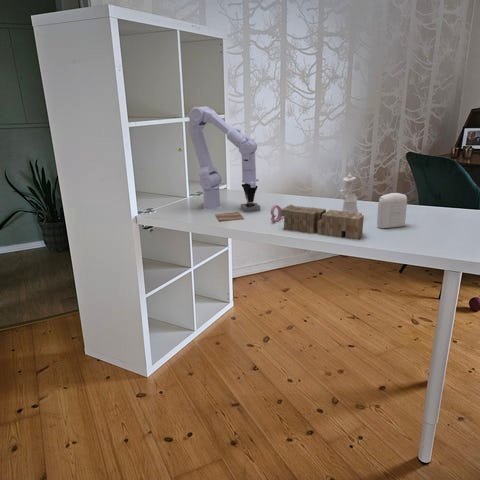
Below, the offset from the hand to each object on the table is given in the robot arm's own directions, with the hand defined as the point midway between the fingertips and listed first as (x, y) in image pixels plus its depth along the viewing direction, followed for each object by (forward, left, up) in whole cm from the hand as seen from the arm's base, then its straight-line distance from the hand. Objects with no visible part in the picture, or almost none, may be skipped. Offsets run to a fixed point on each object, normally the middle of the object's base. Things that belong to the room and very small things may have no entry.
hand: (249, 201), depth 187 cm
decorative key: (+16, +12, -5) cm, 20 cm away
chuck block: (0, 0, -4) cm, 4 cm away
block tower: (+38, +18, -5) cm, 42 cm away
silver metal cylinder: (0, 0, -3) cm, 3 cm away
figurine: (+26, +34, -4) cm, 43 cm away
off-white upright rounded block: (+41, +43, -5) cm, 60 cm away
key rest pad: (+9, -11, -4) cm, 15 cm away
